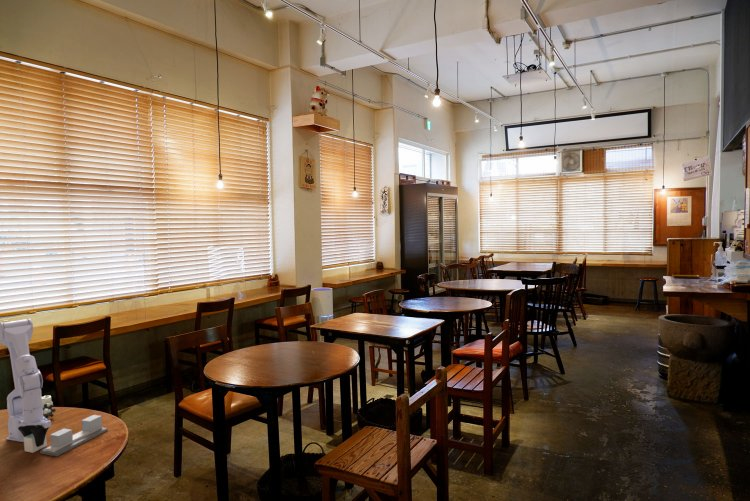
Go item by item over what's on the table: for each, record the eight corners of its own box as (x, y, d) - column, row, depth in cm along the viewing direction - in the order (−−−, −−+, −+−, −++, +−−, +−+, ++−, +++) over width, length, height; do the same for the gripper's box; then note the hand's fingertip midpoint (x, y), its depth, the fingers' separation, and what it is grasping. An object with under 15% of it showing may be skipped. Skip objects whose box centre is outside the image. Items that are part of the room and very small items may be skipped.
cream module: (24, 451, 163) (23, 436, 163) (38, 444, 168) (37, 430, 167) (32, 452, 162) (31, 438, 161) (46, 445, 166) (45, 431, 166)
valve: (38, 412, 197) (36, 422, 187) (36, 397, 197) (35, 406, 187) (56, 408, 201) (56, 418, 191) (55, 393, 201) (55, 402, 191)
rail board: (40, 453, 161) (39, 437, 161) (91, 428, 180) (90, 413, 180) (57, 456, 159) (55, 440, 158) (107, 430, 178) (106, 415, 177)
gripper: (6, 409, 162) (9, 447, 163) (35, 414, 157) (38, 452, 158) (26, 402, 169) (29, 438, 170) (55, 406, 164) (58, 443, 165)
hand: (35, 444), depth 165 cm, fingers closed on cream module, 4 cm apart
